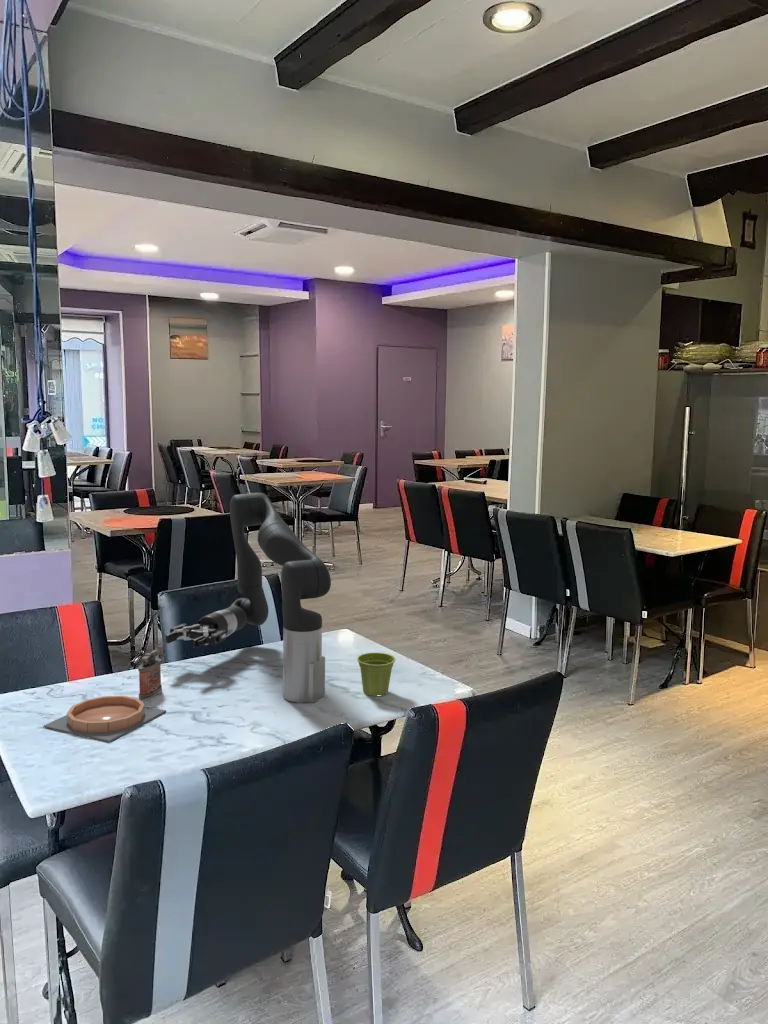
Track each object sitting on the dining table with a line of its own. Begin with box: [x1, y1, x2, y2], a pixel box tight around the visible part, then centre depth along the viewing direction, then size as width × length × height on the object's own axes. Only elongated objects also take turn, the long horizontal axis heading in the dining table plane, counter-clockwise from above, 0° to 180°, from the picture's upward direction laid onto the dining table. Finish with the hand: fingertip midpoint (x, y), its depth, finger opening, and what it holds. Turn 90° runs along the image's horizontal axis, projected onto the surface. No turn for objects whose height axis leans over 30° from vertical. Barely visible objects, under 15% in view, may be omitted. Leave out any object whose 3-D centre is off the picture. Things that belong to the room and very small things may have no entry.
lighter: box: [137, 649, 163, 700], centre depth 184 cm, size 8×3×10 cm, turn 168°
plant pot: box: [356, 652, 397, 697], centre depth 188 cm, size 9×9×9 cm
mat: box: [43, 705, 167, 743], centre depth 169 cm, size 18×18×1 cm
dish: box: [66, 695, 146, 733], centre depth 169 cm, size 16×16×2 cm
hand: (180, 641), depth 195 cm, fingers open, 8 cm apart
